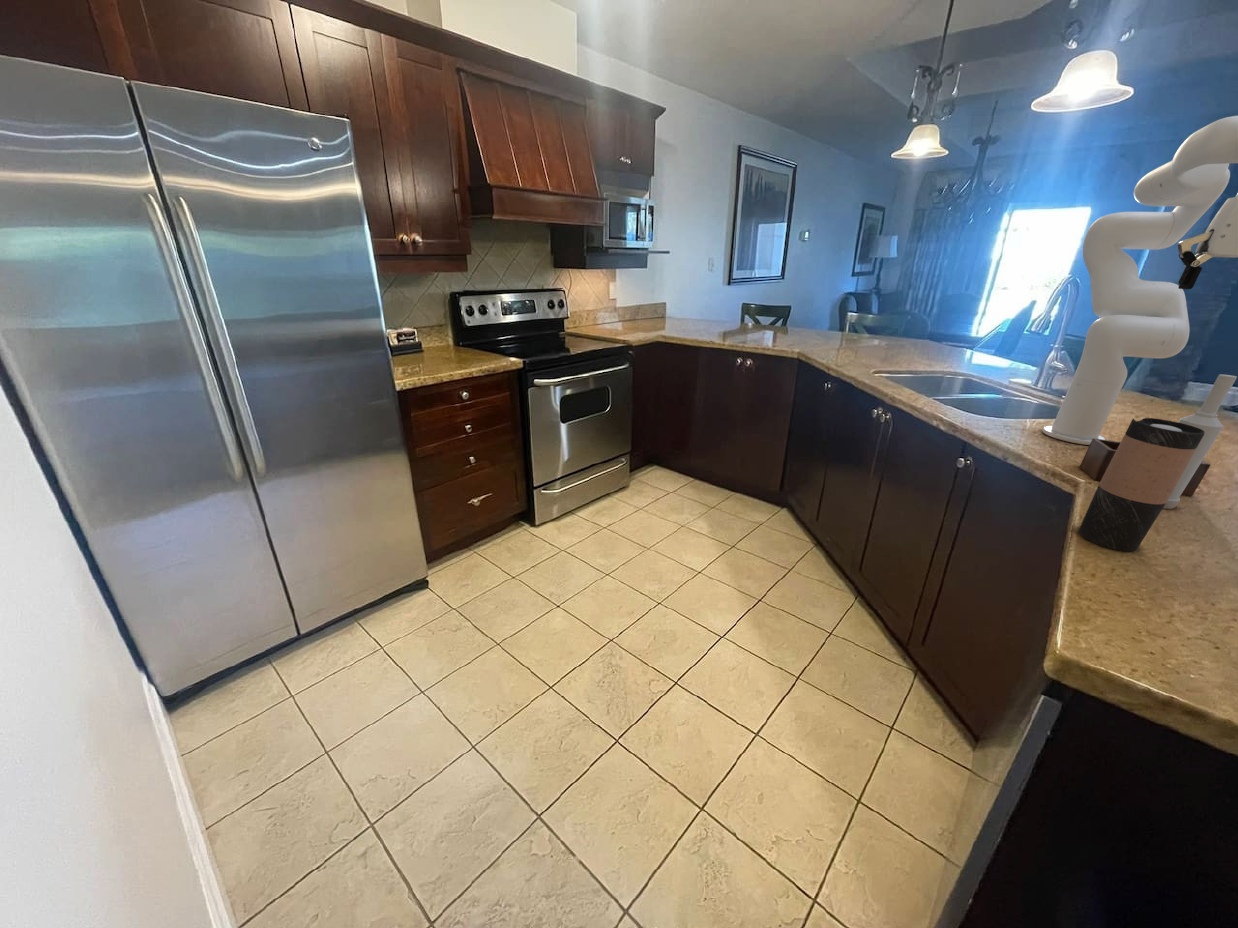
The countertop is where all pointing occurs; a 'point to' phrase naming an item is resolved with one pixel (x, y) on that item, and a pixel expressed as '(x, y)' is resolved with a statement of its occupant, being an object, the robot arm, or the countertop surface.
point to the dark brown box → (1103, 453)
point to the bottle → (1210, 426)
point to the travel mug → (1139, 482)
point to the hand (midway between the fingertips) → (1218, 290)
